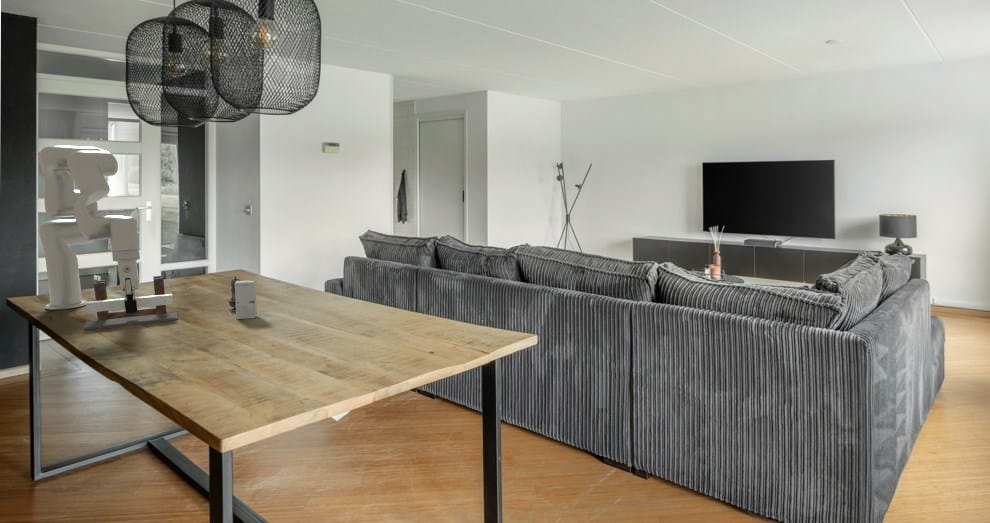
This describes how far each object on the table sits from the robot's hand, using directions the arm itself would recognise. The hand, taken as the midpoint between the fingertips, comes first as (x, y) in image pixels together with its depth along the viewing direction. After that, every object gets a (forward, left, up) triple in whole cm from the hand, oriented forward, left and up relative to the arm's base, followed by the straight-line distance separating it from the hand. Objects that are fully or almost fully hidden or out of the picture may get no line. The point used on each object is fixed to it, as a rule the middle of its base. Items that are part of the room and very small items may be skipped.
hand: (131, 311), depth 202 cm
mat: (0, 0, -3) cm, 3 cm away
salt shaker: (+15, +28, -4) cm, 32 cm away
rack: (-9, +5, -3) cm, 11 cm away
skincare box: (+28, +22, -4) cm, 36 cm away
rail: (0, 0, +1) cm, 1 cm away
